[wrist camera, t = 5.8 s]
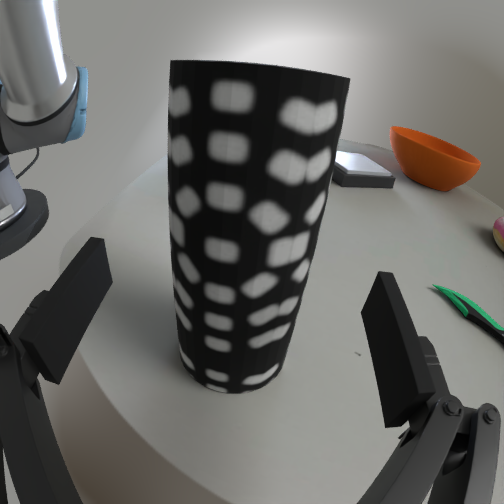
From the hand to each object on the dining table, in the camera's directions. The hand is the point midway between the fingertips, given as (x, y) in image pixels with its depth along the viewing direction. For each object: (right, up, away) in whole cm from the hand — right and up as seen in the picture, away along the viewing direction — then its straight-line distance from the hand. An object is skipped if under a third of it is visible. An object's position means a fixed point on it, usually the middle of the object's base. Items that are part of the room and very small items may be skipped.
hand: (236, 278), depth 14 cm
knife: (+30, -8, +12) cm, 33 cm away
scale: (+21, +18, +48) cm, 55 cm away
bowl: (+45, +20, +55) cm, 74 cm away
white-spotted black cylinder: (-1, -7, +10) cm, 12 cm away
